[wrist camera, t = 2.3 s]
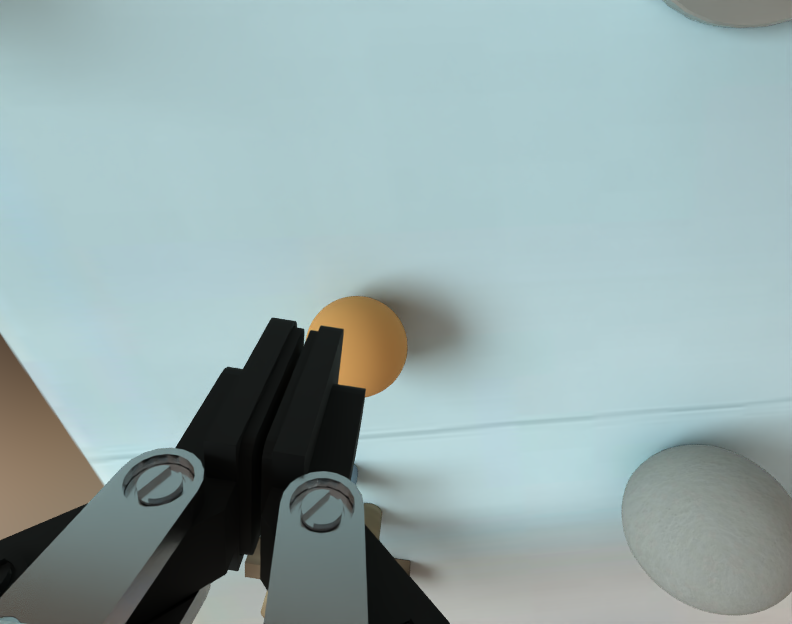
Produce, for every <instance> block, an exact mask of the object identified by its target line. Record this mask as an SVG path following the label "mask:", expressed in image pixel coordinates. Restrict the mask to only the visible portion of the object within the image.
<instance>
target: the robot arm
mask: <svg viewBox="0 0 792 624" xmlns="http://www.w3.org/2000/svg"><path fill="white" fill-rule="evenodd" d="M663 1H664V2H665V3H666V4H667V5H668V6H669V7H671V8H672V9H674V10H676V11H677V12H679V13H681V14H682V15H684V16H686V17H687V18H689V19H692V20H695V21H698V22H702V23H705V24H708V25H712V26H718V27H732V28H748V27H765V26H770V25H774V24H778V23H782V22H786V21H790V20H792V0H663ZM343 336H344V329H341V328H335V327H329V326H322V325H321V326H320V328H319V330H318V331H315V330H310V332H309V334H308V337H307V339H306V342H305V344H304V329H302V328H297V323H296V321H291V320H285V319H279V318H271V320H270V321H269V323H268V325H267V327H266V329H265V330H264V332H263V334H262V336H261V338H260V339H259V341H258V343H257V345H256V347H255V348H254V350H253V352H252V354H251V355H250V357H249V359H248V361H247V363H246V364H245V366H244V368H243V369H238V368H232V367H227V368H225V369H224V370H223V372H222V373H221V375H220V376H219V378H218V379H217V381H216V383H215V384H214V386H213V388H212V389H211V391H210V392H209V394H208V396H207V397H206V399H205V401H204V402H203V404H202V405H201V407H200V409H199V410H198V412H197V414H196V415H195V417H194V418H193V420H192V422H191V423H190V425H189V427H188V428H187V430H186V431H185V433H184V435H183V436H182V438H181V440H180V441H179V443H178V444H177V446H176V448H162V449H155V450H152V451H148V452H145V453H143V454H141V455H139V456H137V457H135V458H133V459H131V460H130V461H129V462H128V463H127V464H125V465H124V466H123V467H122V468H121V469H120V470H119V471H118V472H117V473H116V474H115V475H114V476H113V477H112V478H111V480H110V481H109V482H108V483H107V484H106V485H105V486H104V487H103V488H102V489H101V490H100V491H99V492H98V493H97V495H96V496H95V497H94V498H93V499H92V500H91V501H90V502H89V503H87V504H85V505H83V506H80V507H78V508H76V509H73V510H71V511H69V512H66V513H64V514H62V515H59V516H57V517H54V518H52V519H49V520H47V521H45V522H43V523H40V524H38V525H35V526H33V527H31V528H28V529H26V530H23V531H21V532H19V533H16V534H14V535H12V536H9V537H7V538H5V539H2V540H0V624H192V623H193V621H194V619H195V617H196V615H197V614H198V612H199V610H200V608H201V606H202V605H203V603H204V601H205V599H206V597H207V595H208V592H209V590H210V584H211V583H212V582H213V581H215V580H217V579H218V578H220V577H222V576H223V575H225V574H226V573H227V571H228V570H234V571H238V570H239V567H240V565H241V562H242V559H243V556H244V554H246V555H253V554H254V552H255V549H256V546H257V543H258V540H259V538H260V579H261V581H262V583H263V584H264V586H265V587H266V589H267V591H268V595H267V603H266V610H265V617H264V624H450V623H449V621H448V620H447V619H446V618H445V617H444V616H443V614H442V613H441V612H440V611H439V610H438V609H437V607H436V606H435V605H434V604H433V603H432V602H431V600H430V599H429V598H428V597H427V596H426V595H425V593H424V592H423V591H422V590H421V589H420V588H419V586H418V585H417V584H416V583H415V582H414V581H413V580H412V578H411V577H410V576H409V575H408V574H407V573H406V571H405V570H404V569H403V568H402V567H401V566H400V564H399V563H398V562H397V561H396V560H395V559H394V557H393V556H392V555H391V554H390V553H389V552H388V550H387V549H386V548H385V547H384V546H383V545H382V543H381V542H380V541H379V540H378V539H377V538H376V536H375V535H374V534H373V533H372V532H371V531H370V529H369V528H368V527H367V526H366V525H365V521H364V503H363V499H362V494H361V493H360V491H359V490H358V488H357V486H356V485H355V484H354V483H352V482H351V477H352V472H353V466H354V461H355V455H356V449H357V444H358V438H359V432H360V426H361V420H362V413H363V407H364V400H365V393H366V389H365V388H359V387H352V386H346V385H340V384H338V380H339V371H340V362H341V354H342V345H343Z"/></svg>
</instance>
